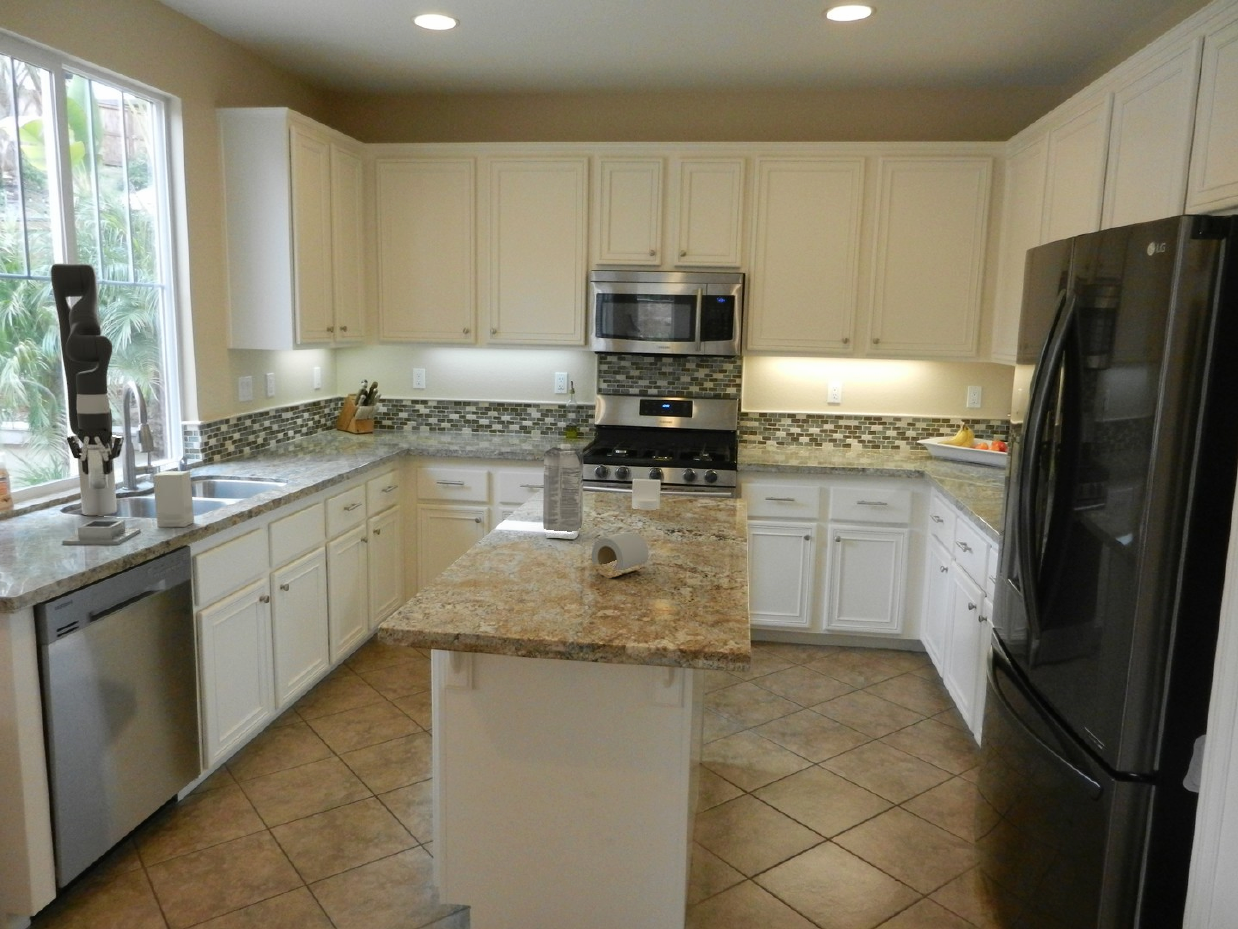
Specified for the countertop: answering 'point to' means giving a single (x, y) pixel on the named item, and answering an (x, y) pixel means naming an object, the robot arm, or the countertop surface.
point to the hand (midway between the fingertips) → (97, 473)
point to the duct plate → (101, 533)
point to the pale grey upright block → (96, 467)
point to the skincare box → (173, 498)
